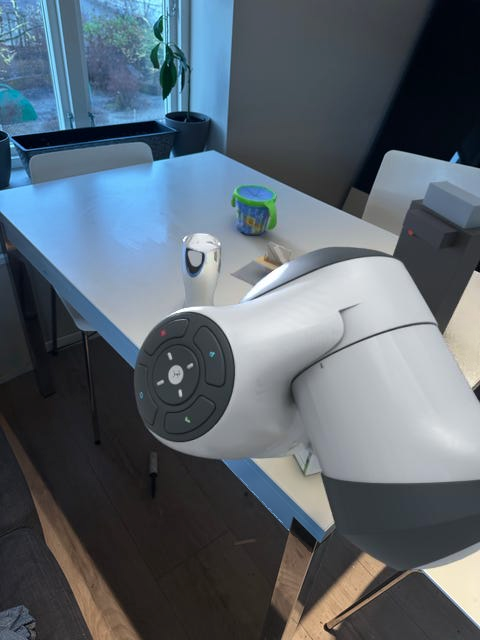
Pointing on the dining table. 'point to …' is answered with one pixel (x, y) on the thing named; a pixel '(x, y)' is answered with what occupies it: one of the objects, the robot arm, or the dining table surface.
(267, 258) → the architectural model
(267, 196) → the snack cup
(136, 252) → the dining table surface
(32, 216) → the dining table surface
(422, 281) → the coffee maker
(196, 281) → the beer glass
